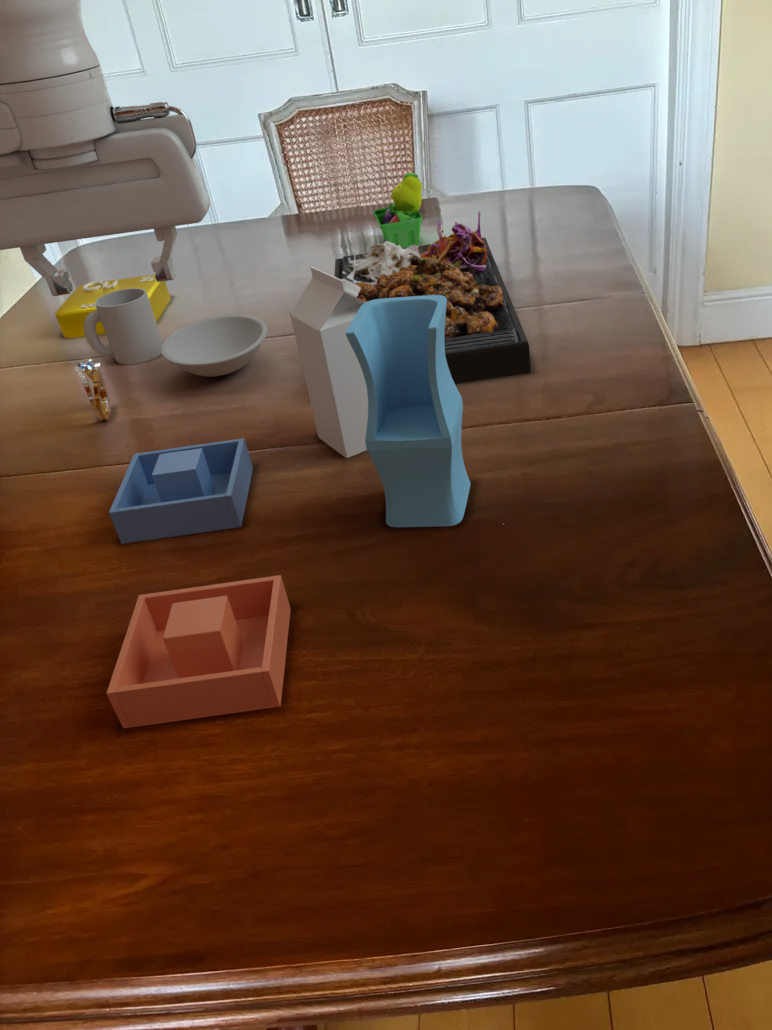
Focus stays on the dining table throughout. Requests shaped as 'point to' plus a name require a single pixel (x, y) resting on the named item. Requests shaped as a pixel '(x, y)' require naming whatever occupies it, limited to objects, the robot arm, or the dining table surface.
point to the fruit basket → (402, 213)
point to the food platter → (450, 298)
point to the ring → (95, 387)
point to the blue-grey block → (182, 475)
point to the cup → (125, 327)
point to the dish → (215, 344)
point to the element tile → (86, 294)
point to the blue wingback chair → (412, 409)
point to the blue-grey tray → (152, 519)
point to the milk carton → (332, 361)
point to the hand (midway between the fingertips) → (115, 286)
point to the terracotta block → (203, 637)
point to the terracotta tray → (166, 698)
